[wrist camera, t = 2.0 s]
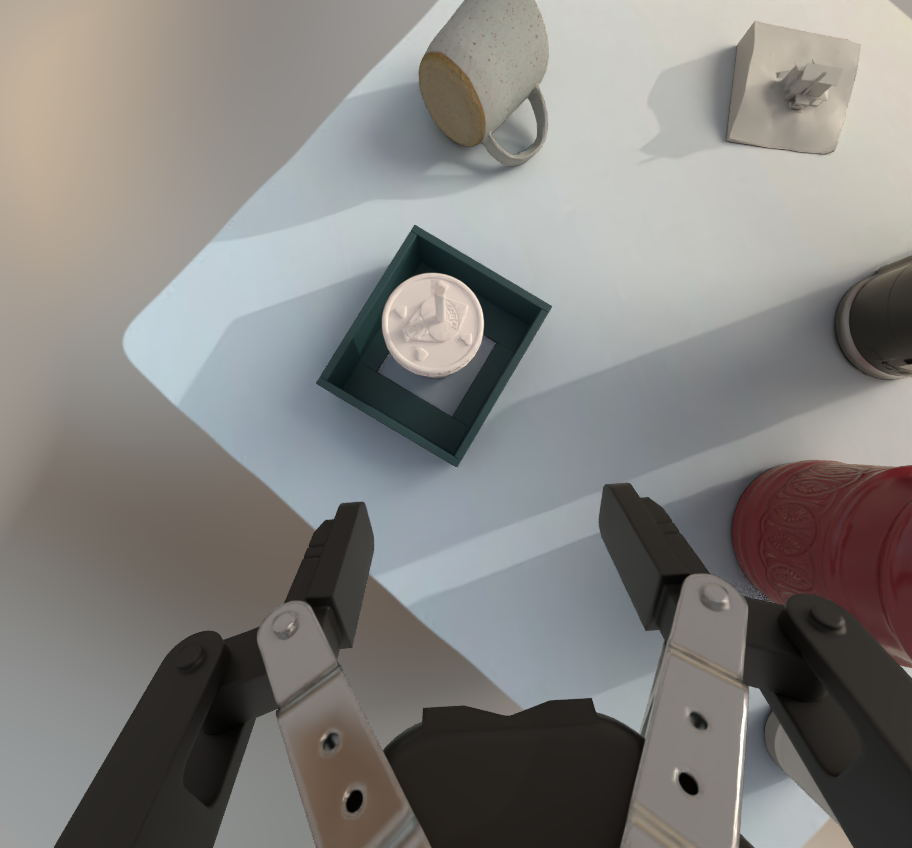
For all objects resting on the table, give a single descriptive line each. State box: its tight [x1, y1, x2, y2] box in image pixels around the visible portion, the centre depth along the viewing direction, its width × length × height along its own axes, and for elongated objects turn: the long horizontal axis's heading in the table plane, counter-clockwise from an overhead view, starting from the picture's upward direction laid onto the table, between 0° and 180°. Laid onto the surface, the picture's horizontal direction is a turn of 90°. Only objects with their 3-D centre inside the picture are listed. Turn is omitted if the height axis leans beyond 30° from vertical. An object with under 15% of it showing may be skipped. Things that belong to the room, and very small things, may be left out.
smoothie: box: [382, 273, 484, 379], centre depth 26 cm, size 6×6×14 cm
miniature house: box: [726, 21, 861, 155], centre depth 32 cm, size 12×11×4 cm
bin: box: [316, 225, 552, 467], centre depth 30 cm, size 14×12×4 cm
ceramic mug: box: [419, 0, 549, 166], centre depth 30 cm, size 11×8×8 cm
